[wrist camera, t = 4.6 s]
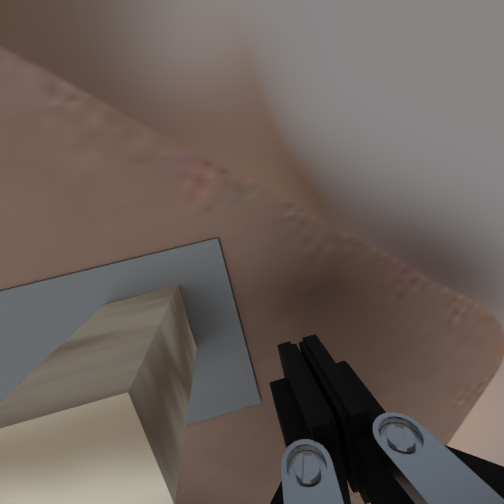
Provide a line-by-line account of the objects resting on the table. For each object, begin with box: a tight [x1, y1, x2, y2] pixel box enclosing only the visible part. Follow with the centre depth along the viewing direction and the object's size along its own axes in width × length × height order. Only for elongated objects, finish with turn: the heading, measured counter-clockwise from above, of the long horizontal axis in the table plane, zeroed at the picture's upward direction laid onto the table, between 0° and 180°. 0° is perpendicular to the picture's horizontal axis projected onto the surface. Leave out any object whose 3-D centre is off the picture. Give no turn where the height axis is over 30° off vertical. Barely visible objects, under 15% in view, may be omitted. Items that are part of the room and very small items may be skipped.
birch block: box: [0, 285, 197, 504], centre depth 13 cm, size 5×5×10 cm
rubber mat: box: [0, 237, 261, 425], centre depth 18 cm, size 14×22×1 cm, turn 103°
